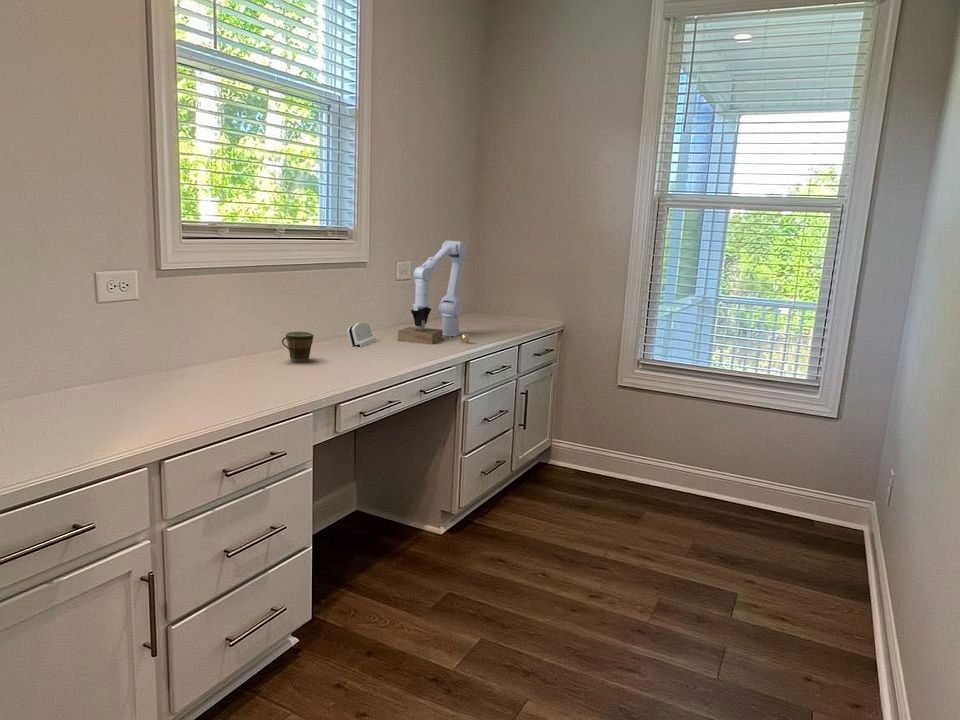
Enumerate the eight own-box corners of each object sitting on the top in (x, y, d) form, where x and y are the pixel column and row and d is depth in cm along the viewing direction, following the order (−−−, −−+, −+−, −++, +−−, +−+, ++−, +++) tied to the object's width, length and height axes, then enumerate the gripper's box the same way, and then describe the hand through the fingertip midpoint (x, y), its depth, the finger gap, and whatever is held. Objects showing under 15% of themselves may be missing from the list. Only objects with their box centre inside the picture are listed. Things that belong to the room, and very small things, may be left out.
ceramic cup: (301, 356, 262) (301, 330, 260) (319, 360, 257) (319, 334, 255) (273, 361, 252) (273, 334, 250) (291, 365, 246) (291, 338, 244)
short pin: (462, 342, 309) (463, 333, 308) (469, 343, 308) (469, 334, 307) (460, 343, 306) (460, 334, 305) (467, 344, 305) (467, 335, 304)
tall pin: (418, 339, 311) (419, 319, 310) (425, 340, 311) (425, 320, 309) (416, 340, 308) (416, 320, 306) (422, 341, 308) (423, 321, 306)
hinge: (361, 347, 286) (354, 324, 285) (351, 350, 287) (344, 327, 286) (377, 341, 302) (370, 319, 301) (367, 343, 303) (361, 322, 302)
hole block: (409, 336, 318) (409, 326, 317) (442, 339, 314) (442, 329, 313) (397, 340, 305) (398, 330, 304) (431, 344, 301) (432, 334, 300)
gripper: (419, 292, 313) (418, 322, 316) (407, 295, 300) (406, 326, 302) (433, 293, 311) (432, 323, 314) (422, 296, 298) (421, 327, 300)
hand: (420, 324), depth 308 cm, fingers open, 7 cm apart
